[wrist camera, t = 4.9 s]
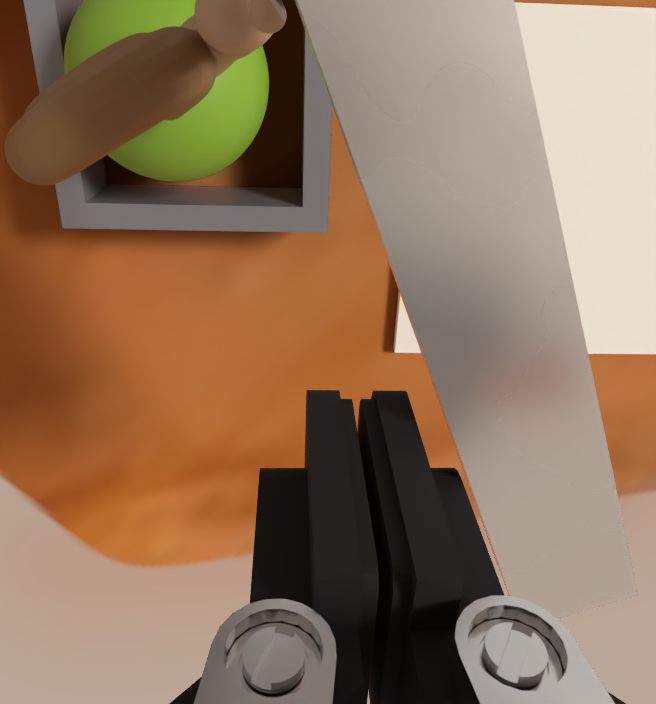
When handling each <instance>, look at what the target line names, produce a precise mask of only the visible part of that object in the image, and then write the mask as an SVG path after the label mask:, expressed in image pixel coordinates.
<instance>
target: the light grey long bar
mask: <svg viewBox="0 0 656 704" xmlns="http://www.w3.org/2000/svg"><path fill="white" fill-rule="evenodd" d="M295 3H296V5H297V8H298V11H299V14H300V16H301V19H302V22H303V25H304V28H305V30H306V33H307V36H308V39H309V42H310V44H311V47H312V50H313V53H314V55H315V58H316V61H317V64H318V67H319V69H320V72H321V75H322V78H323V81H324V83H325V86H326V89H327V92H328V94H329V97H330V100H331V103H332V106H333V108H334V111H335V114H336V117H337V119H338V122H339V125H340V128H341V131H342V133H343V136H344V139H345V142H346V145H347V147H348V150H349V153H350V156H351V158H352V161H353V164H354V167H355V170H356V172H357V175H358V178H359V181H360V184H361V186H362V189H363V192H364V195H365V197H366V200H367V203H368V206H369V209H370V211H371V214H372V217H373V220H374V223H375V225H376V228H377V231H378V234H379V236H380V239H381V242H382V245H383V248H384V250H385V253H386V256H387V259H388V262H389V264H390V267H391V270H392V273H393V275H394V278H395V281H396V284H397V287H398V289H399V292H400V295H401V298H402V300H403V303H404V306H405V309H406V312H407V314H408V317H409V320H410V323H411V326H412V328H413V331H414V334H415V337H416V339H417V342H418V345H419V348H420V351H421V353H422V356H423V359H424V362H425V365H426V367H427V370H428V373H429V376H430V378H431V381H432V384H433V387H434V390H435V392H436V395H437V398H438V401H439V404H440V406H441V409H442V412H443V415H444V417H445V420H446V423H447V426H448V429H449V431H450V434H451V437H452V440H453V443H454V445H455V448H456V451H457V454H458V456H459V459H460V462H461V465H462V468H463V470H464V473H465V476H466V479H467V482H468V484H469V487H470V490H471V493H472V495H473V498H474V501H475V504H476V507H477V509H478V512H479V515H480V518H481V520H482V523H483V526H484V528H485V532H486V534H487V537H488V540H489V543H490V545H491V548H492V551H493V554H494V556H495V559H496V562H497V565H498V567H499V570H500V572H501V575H502V578H503V580H504V583H505V586H506V588H507V591H508V594H509V596H513V597H517V598H521V599H525V600H528V601H530V602H532V603H534V604H536V605H538V606H540V607H542V608H544V609H546V610H547V611H548V612H550V613H551V614H552V615H553V616H555V617H556V618H557V619H559V618H562V617H565V616H569V615H572V614H576V613H579V612H582V611H586V610H590V609H593V608H596V607H600V606H603V605H607V604H610V603H614V602H617V601H620V600H624V599H627V598H631V597H634V596H638V591H637V586H636V581H635V577H634V571H633V567H632V562H631V557H630V552H629V547H628V543H627V538H626V533H625V528H624V524H623V519H622V514H621V509H620V505H619V500H618V495H617V490H616V485H615V480H614V476H613V471H612V466H611V461H610V457H609V452H608V447H607V442H606V437H605V433H604V428H603V423H602V418H601V413H600V409H599V404H598V399H597V394H596V390H595V385H594V380H593V375H592V370H591V366H590V361H589V356H588V351H587V347H586V342H585V337H584V332H583V327H582V323H581V318H580V313H579V308H578V303H577V299H576V294H575V289H574V284H573V280H572V275H571V270H570V265H569V260H568V256H567V251H566V246H565V241H564V236H563V232H562V227H561V222H560V217H559V213H558V208H557V203H556V198H555V193H554V189H553V184H552V179H551V174H550V169H549V165H548V160H547V155H546V150H545V146H544V141H543V136H542V131H541V126H540V122H539V117H538V112H537V107H536V102H535V98H534V93H533V88H532V83H531V79H530V74H529V69H528V64H527V59H526V55H525V50H524V45H523V40H522V35H521V31H520V26H519V21H518V16H517V12H516V7H515V2H514V0H295Z"/></svg>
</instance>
